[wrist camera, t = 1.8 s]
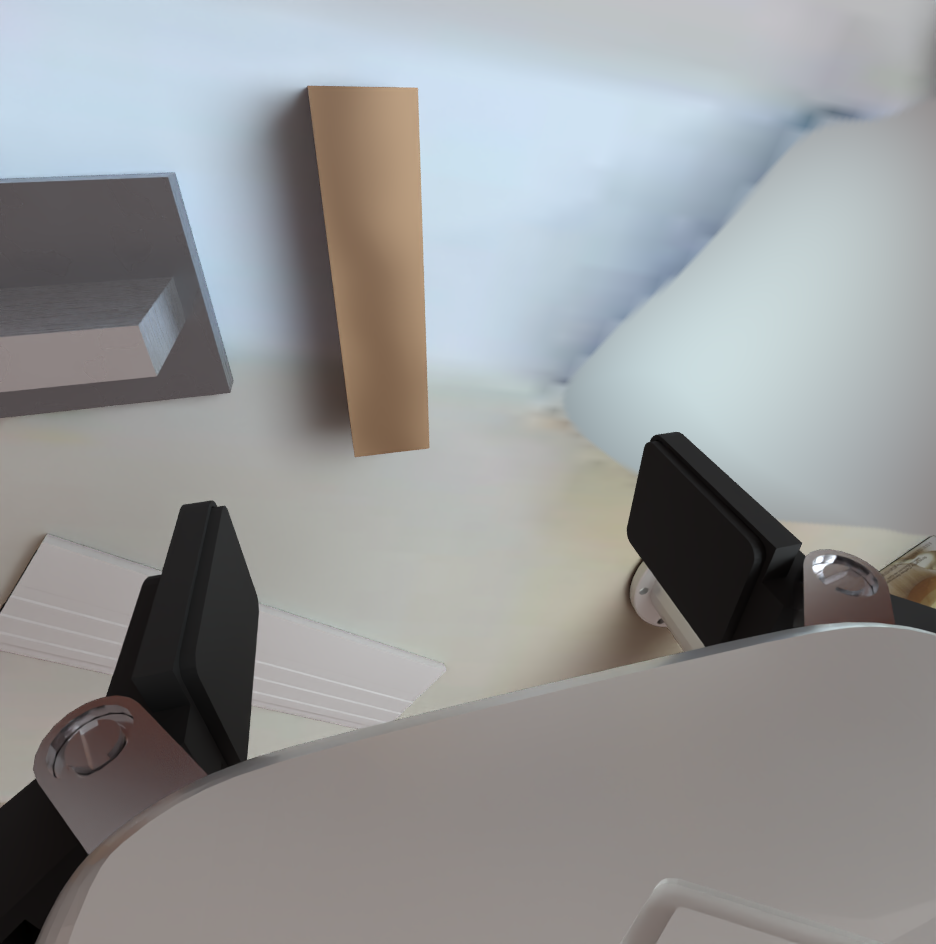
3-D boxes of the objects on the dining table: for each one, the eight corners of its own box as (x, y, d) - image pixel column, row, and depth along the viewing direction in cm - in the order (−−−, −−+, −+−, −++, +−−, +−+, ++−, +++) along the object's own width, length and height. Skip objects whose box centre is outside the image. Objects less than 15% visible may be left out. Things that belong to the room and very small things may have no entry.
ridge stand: (175, 172, 24) (127, 201, 18) (233, 380, 30) (213, 459, 23) (-120, 183, 22) (-295, 221, 15) (5, 404, 28) (-86, 498, 21)
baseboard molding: (365, 732, 52) (442, 656, 49) (368, 761, 50) (449, 683, 46) (-23, 647, 36) (50, 524, 33) (-45, 685, 34) (31, 557, 30)
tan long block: (399, 88, 24) (417, 87, 20) (414, 405, 33) (429, 448, 30) (307, 86, 24) (307, 85, 20) (348, 412, 33) (354, 457, 29)
